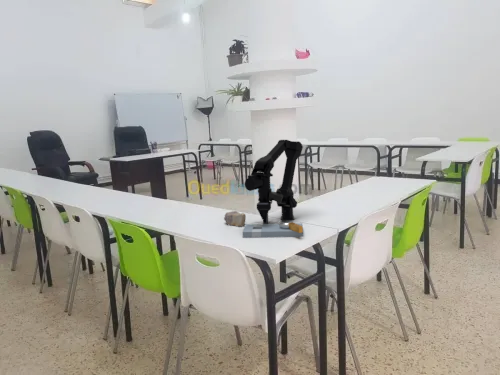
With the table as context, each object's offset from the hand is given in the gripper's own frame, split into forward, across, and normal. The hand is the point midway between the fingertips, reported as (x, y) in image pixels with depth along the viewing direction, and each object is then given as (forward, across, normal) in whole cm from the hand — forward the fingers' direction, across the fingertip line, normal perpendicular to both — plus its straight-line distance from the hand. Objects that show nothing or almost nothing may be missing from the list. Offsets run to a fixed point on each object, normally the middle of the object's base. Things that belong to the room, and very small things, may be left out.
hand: (265, 219), depth 183 cm
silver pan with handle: (+1, -13, -12) cm, 18 cm away
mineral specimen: (+4, +5, +15) cm, 17 cm away
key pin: (+4, 0, 0) cm, 4 cm away
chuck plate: (+3, -10, -4) cm, 11 cm away
